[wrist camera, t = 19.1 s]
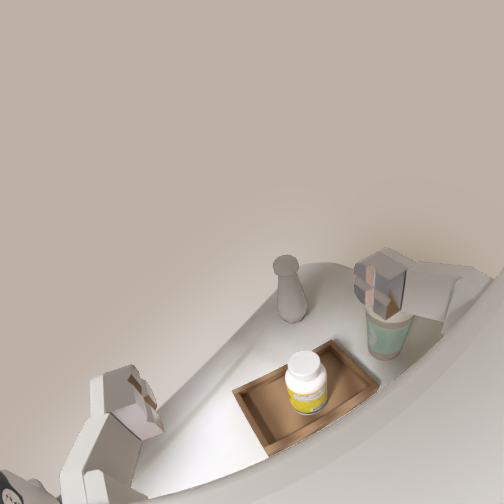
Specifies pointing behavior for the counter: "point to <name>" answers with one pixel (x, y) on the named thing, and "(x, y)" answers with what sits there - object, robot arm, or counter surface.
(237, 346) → the counter surface
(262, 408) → the tray
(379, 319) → the coffee cup
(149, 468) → the counter surface
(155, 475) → the counter surface
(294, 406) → the supplement bottle
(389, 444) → the robot arm
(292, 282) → the salt shaker
